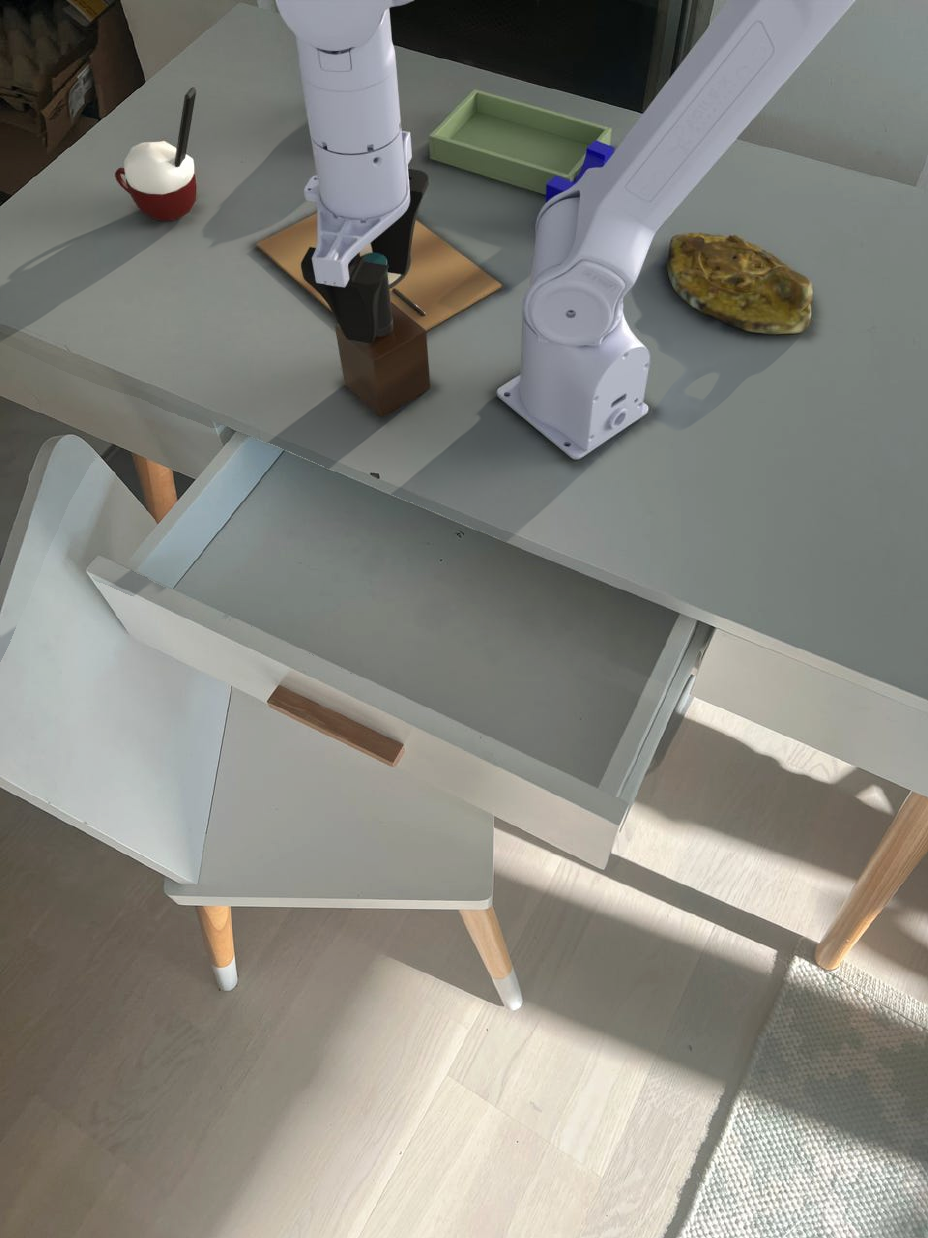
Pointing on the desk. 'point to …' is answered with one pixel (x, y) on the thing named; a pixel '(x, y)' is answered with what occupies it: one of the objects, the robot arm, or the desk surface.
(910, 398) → the desk surface
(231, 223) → the desk surface
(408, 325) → the tall brown wooden block
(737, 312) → the stuffed pastry
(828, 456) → the desk surface
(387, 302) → the marker
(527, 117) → the tray
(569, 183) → the cable holder
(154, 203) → the cocoa
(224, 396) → the desk surface
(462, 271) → the drawing pad
